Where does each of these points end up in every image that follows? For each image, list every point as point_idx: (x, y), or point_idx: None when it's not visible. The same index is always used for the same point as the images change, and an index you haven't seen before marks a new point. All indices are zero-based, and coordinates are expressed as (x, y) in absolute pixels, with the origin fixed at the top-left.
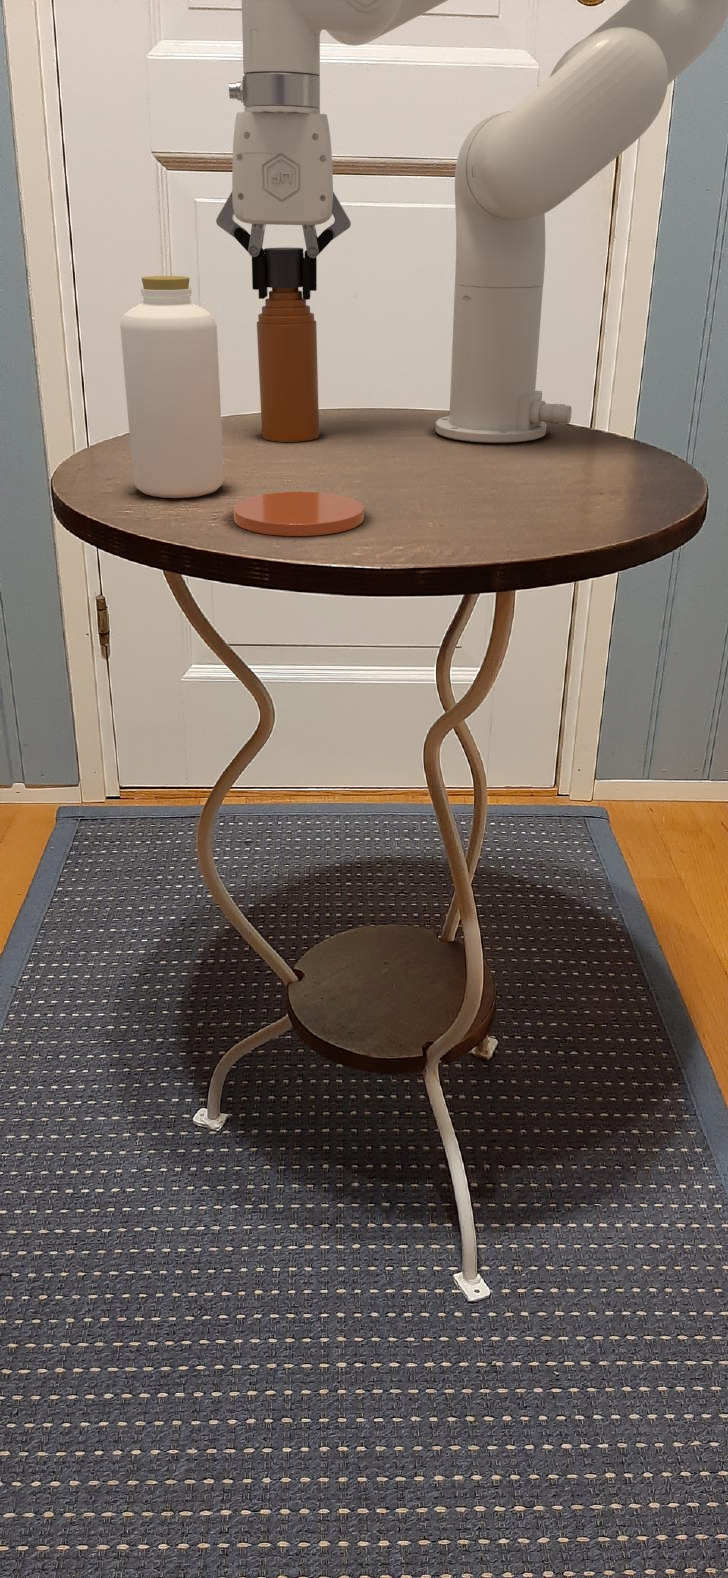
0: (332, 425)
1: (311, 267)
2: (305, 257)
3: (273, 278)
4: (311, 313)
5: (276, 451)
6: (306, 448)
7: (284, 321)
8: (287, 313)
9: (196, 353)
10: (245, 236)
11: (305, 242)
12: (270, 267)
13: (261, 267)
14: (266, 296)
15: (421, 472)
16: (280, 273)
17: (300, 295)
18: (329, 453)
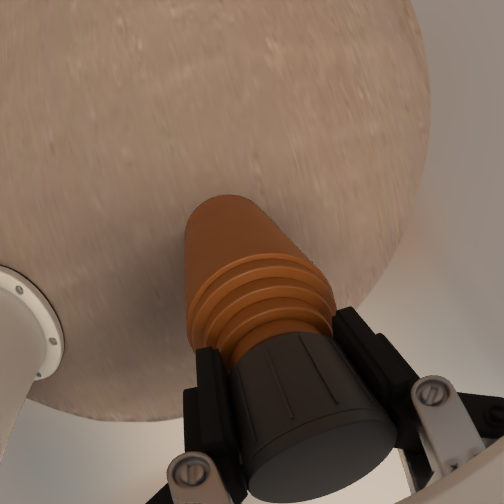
0: None
1: (199, 432)
2: (226, 456)
3: (325, 349)
4: None
5: (218, 130)
6: (180, 163)
7: (251, 264)
8: (249, 285)
9: None
10: (479, 420)
11: (227, 497)
12: (350, 374)
13: (381, 359)
14: None
15: (11, 80)
16: (304, 361)
17: (232, 366)
18: (138, 140)
